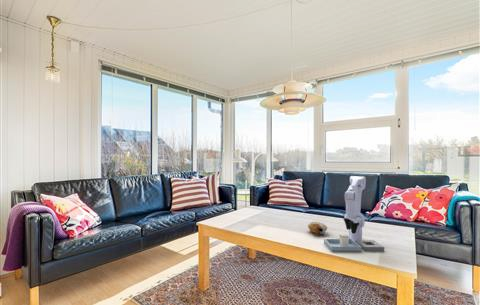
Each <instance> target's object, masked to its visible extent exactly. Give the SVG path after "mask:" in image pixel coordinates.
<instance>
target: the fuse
mask: <svg viewBox="0 0 480 305" xmlns="http://www.w3.org/2000/svg"><path fill="white" fill-rule="evenodd" d="M339 239H340V246H349V239H350V238H349V234H345V233H339Z"/></svg>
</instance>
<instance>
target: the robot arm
mask: <svg viewBox="0 0 480 305" xmlns="http://www.w3.org/2000/svg"><path fill="white" fill-rule="evenodd" d="M366 182H367V180H366V176H354V175H351V176H349V184H350V185H349V186H348V189H347V190H346V191H345V192H344V202H345V214H344V217H343V222H344V224H345V227H346V230H348V236H349V239H352V240H353V241H355V240H365V239H364V238H363V228H364V227H365V222H366V221H365V216H364V214H362V213H361V207H362V193H363V190H366V185H367V184H366Z"/></svg>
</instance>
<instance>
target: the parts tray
mask: <svg viewBox="0 0 480 305" xmlns="http://www.w3.org/2000/svg"><path fill="white" fill-rule="evenodd" d="M323 244H324V245H325V246H326V247H327V248H328V250H330V252H333V253H335V252H342V253H343V252H344V253H345V252H348V253H349V252H354V253H356V252H358V253H359V252H360V253H362V251H363V250H362V247H361V246H360V245H359V244H357V243H356V242H355V241H353V240H352V239H350V238H349V246H340V238H323Z"/></svg>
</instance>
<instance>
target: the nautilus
mask: <svg viewBox="0 0 480 305" xmlns="http://www.w3.org/2000/svg"><path fill="white" fill-rule="evenodd" d="M307 228H308V229H309V231H311V233H313V235H316V236H320V235H323V234H324V233H326V232H327V231H328V226H327V225H326V224H325V223H323V222H321V221H320V222H319V221H313V222H310V223H308V225H307Z"/></svg>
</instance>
